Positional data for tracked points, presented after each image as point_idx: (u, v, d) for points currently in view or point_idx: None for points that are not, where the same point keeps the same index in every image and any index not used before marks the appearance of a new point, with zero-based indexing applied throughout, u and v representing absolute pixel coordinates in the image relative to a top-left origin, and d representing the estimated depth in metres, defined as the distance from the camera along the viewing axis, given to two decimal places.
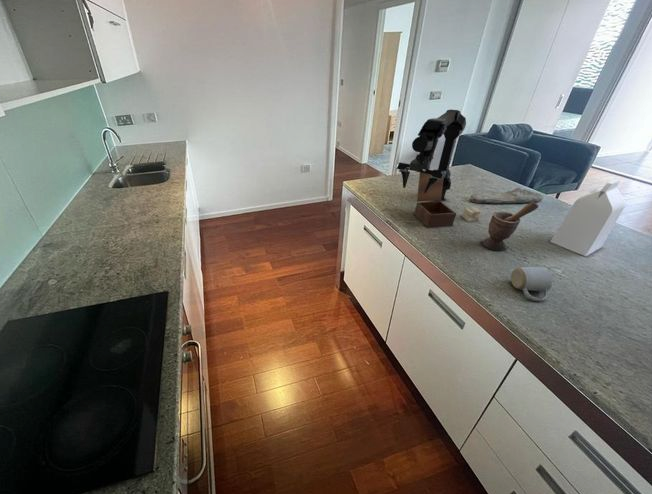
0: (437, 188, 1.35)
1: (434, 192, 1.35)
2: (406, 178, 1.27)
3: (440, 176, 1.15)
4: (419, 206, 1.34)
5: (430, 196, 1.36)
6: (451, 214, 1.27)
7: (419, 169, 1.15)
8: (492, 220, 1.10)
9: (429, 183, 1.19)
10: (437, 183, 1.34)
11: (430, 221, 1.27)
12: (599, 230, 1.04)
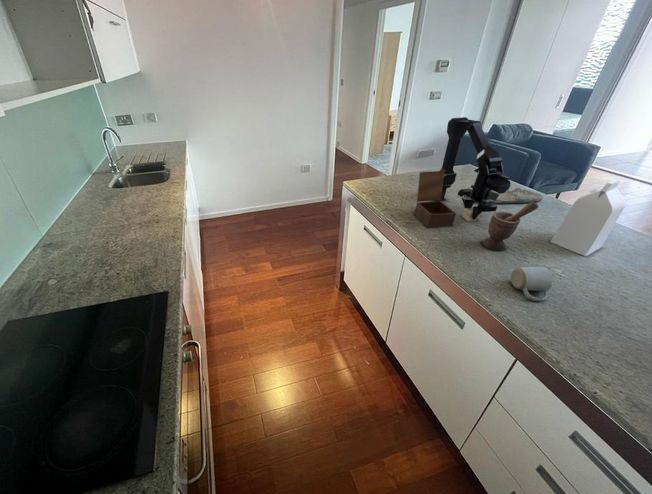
0: (437, 188, 1.35)
1: (434, 192, 1.35)
2: None
3: None
4: (419, 206, 1.34)
5: (430, 196, 1.36)
6: (451, 214, 1.27)
7: None
8: (492, 220, 1.10)
9: None
10: (437, 183, 1.34)
11: (430, 221, 1.27)
12: (599, 230, 1.04)
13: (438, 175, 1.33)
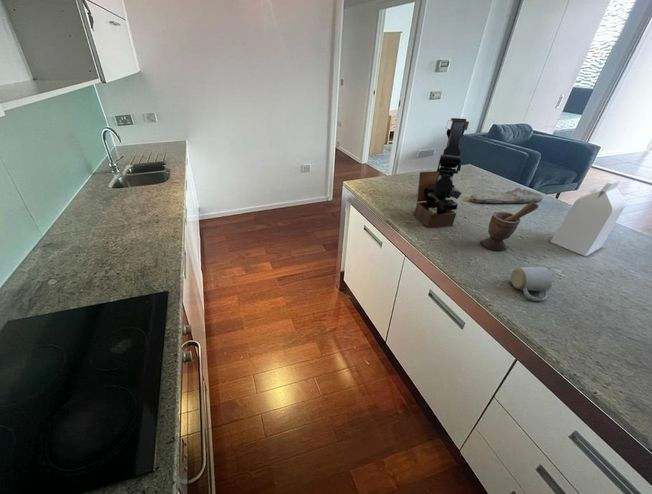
0: None
1: None
2: None
3: None
4: (419, 206, 1.34)
5: None
6: (451, 214, 1.27)
7: None
8: (492, 220, 1.10)
9: None
10: None
11: (430, 221, 1.27)
12: (599, 230, 1.04)
13: None
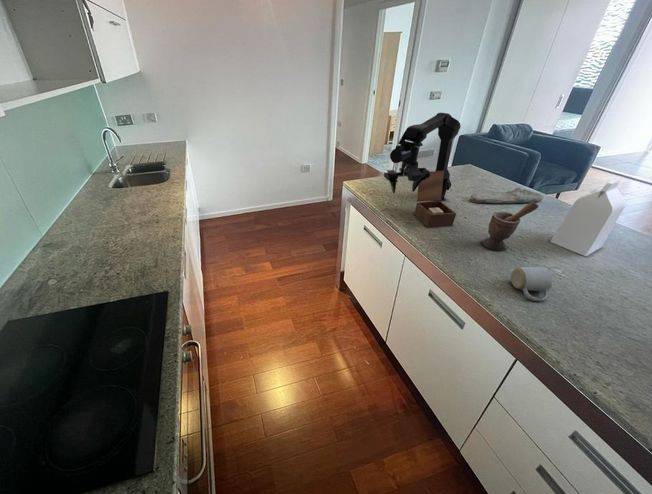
0: (437, 188, 1.35)
1: (434, 192, 1.35)
2: None
3: (429, 175, 1.27)
4: (419, 206, 1.34)
5: (430, 196, 1.36)
6: (451, 214, 1.27)
7: (420, 178, 1.22)
8: (492, 220, 1.10)
9: (418, 183, 1.30)
10: (437, 183, 1.34)
11: (430, 221, 1.27)
12: (599, 230, 1.04)
13: (437, 175, 1.33)
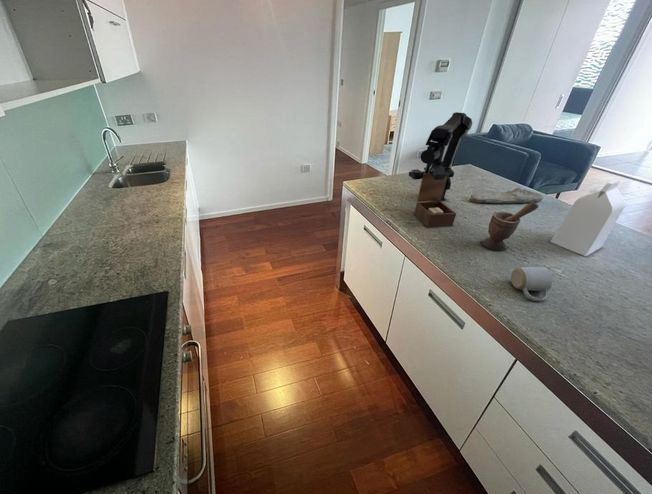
0: (438, 189, 1.34)
1: (435, 193, 1.34)
2: None
3: (453, 175, 1.32)
4: (419, 206, 1.34)
5: (431, 196, 1.35)
6: (451, 214, 1.27)
7: None
8: (492, 220, 1.10)
9: None
10: (439, 185, 1.32)
11: (430, 221, 1.27)
12: (599, 230, 1.04)
13: None
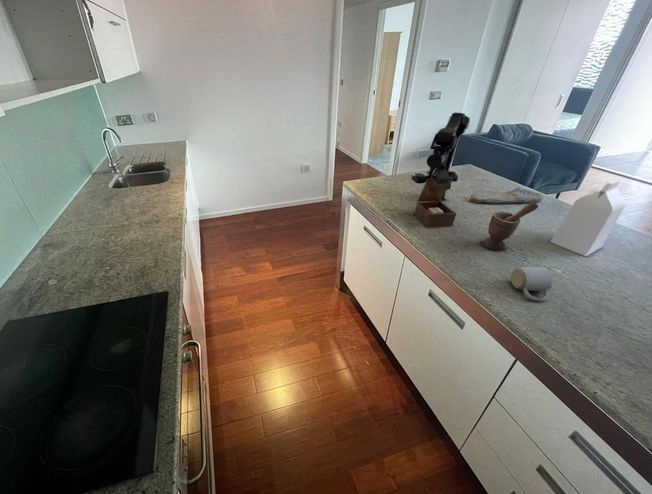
0: (440, 191, 1.32)
1: (436, 194, 1.34)
2: None
3: (457, 179, 1.29)
4: (419, 206, 1.34)
5: (431, 197, 1.35)
6: (451, 214, 1.27)
7: (448, 181, 1.24)
8: (492, 220, 1.10)
9: None
10: (442, 188, 1.31)
11: (430, 221, 1.27)
12: (599, 230, 1.04)
13: None
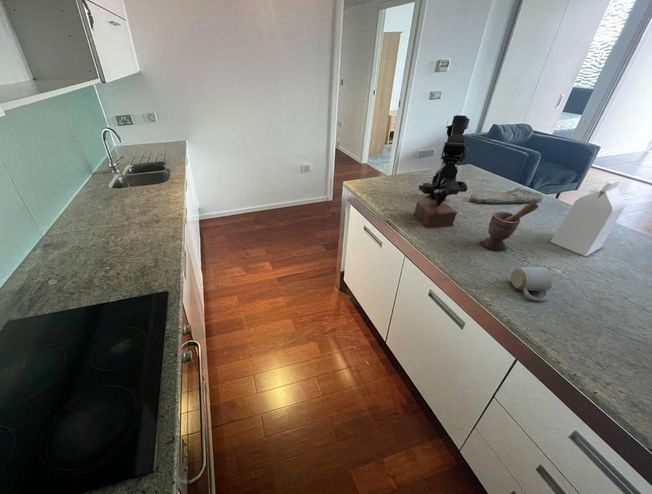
0: None
1: None
2: None
3: (466, 189, 1.24)
4: (419, 206, 1.34)
5: None
6: (451, 214, 1.27)
7: None
8: (492, 220, 1.10)
9: (444, 197, 1.26)
10: None
11: (430, 221, 1.27)
12: (599, 230, 1.04)
13: None
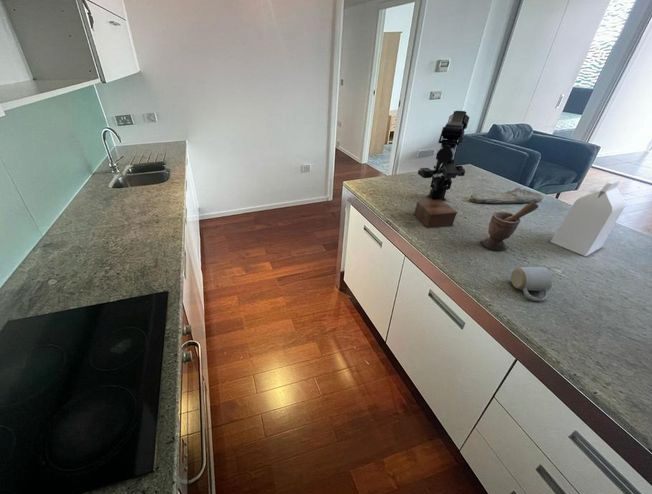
0: None
1: None
2: None
3: (464, 174, 1.27)
4: (419, 206, 1.34)
5: None
6: (451, 214, 1.27)
7: (456, 175, 1.22)
8: (492, 220, 1.10)
9: (442, 181, 1.30)
10: None
11: (430, 221, 1.27)
12: (599, 230, 1.04)
13: None
